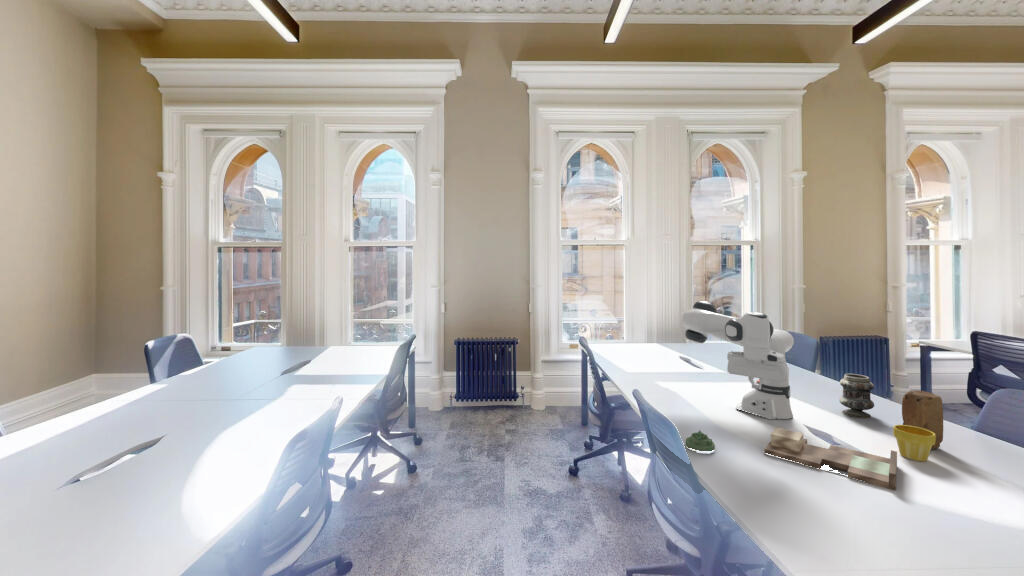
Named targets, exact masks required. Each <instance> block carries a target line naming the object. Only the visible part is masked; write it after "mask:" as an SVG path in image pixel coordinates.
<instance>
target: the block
mask: <svg viewBox="0 0 1024 576" xmlns="http://www.w3.org/2000/svg"><path fill="white" fill-rule="evenodd" d="M943 406H944V405H943V399H942V397H941V396H940V395H937V394H935V393H932V392H929V391H925V390H908V391H906V393H905V394H904V396H902V400H901V416H902V417H901V418H902V421H903V422H902V425H909V426H915V427H919V428H923V429H926V430H929V431H931V432H933V433H935V435H936V441H935V444H934V445H932V448H931V450H936V449H939V448H940V447H941V443H943V440H944V407H943Z"/></svg>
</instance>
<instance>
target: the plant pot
mask: <svg viewBox="0 0 1024 576" xmlns="http://www.w3.org/2000/svg"><path fill="white" fill-rule="evenodd" d="M892 428H893V429H892V431H893V436H894V438H895V439H896V442H897V447H898V451H899V455H900V456H902V457H904V458H906V459H909V460H912V461H915V462H916V461H917V462H927V461H928V459H929V455H930V453H931V451H932V449H931V448H932V445H934V444H935V441H936V435H935V433H933V432H931V431H929V430H926V429H923V428H919V427H915V426H909V425H903V424H894V425H893V427H892Z"/></svg>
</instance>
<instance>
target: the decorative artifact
mask: <svg viewBox="0 0 1024 576" xmlns="http://www.w3.org/2000/svg"><path fill="white" fill-rule="evenodd" d="M715 444H716V443H715V442H714V441H713V439H712V438H709V436H708V435H707V434H705V433H703V432H701V430H699V431H697V432H693V433H691V435H690V436H689V437H686V438H685V447H686V446H687V447H688V448H692V449H695V450H699V451H712V450H714V449H715V450H716V445H715Z"/></svg>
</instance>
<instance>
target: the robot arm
mask: <svg viewBox="0 0 1024 576" xmlns="http://www.w3.org/2000/svg"><path fill="white" fill-rule="evenodd" d="M681 321H682V324H683V325H684V326H685V327H686V330H685V334H684V336H685V338H686V339H687V340H688V341H689V342H691V343H693V344H703V343H706V341H707V340H708V336H709V335H711V336H713V337H714V338H716V339H719V340H722V341H724V342H727V343H732V344H735V345H738V346H742V347H743V349H742V350H743V351H735V350H731V351H729V352H728V353H727V357H726V358H727V361H728V362H727V366H726V370H727V372H728V374H731V375H734V376H735V375H737V376H742V377H748V381H749V382H750V384H751V389H753V390H751V391H749V392H747V393H745V394H744V395H743V397H742V399H741V402H739V403H737V404H736V407H737V408H738V409H740V410H744V411H747V412H750V413H754V414H757V415H760V416H763V417H762V418H764V417H766V418H765V419H767V418H770V419H769V420H777V419H776V418H778V419H779V420H787V419H792V418H793V417H794V415H793V411H792V407H791V401H790V398H791V386H790V368H789V366H788V364H787V360H786V353H787V352H789V351H790V350H791V349H792V347H793V346H794V344H795V339H794V337H793V335H792V334H791V333H790V332H789V331H786V330H782V329H777V328H774V326H773V324H772V322H771V321H770V320H769V317H768V315H767V314H765V313H764V312H759V311H748V312H745V313H744V315H742V316H739V317H735V316H729V315H726V314H720V313H719V312H717V308H716V307H715V305H714V304H712V303H710V302H708V301H705V300H702V301H700V300H699V301H696V302H695V303H694V304H693V305H692V309H688V310H686V311H685V312H684V313H683V314H682V317H681ZM755 378H756V379H758V380H756V382H755V381H754V379H755ZM738 406H739V407H738ZM736 407H735V408H736ZM757 415H756V416H757ZM760 416H759V417H760Z"/></svg>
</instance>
